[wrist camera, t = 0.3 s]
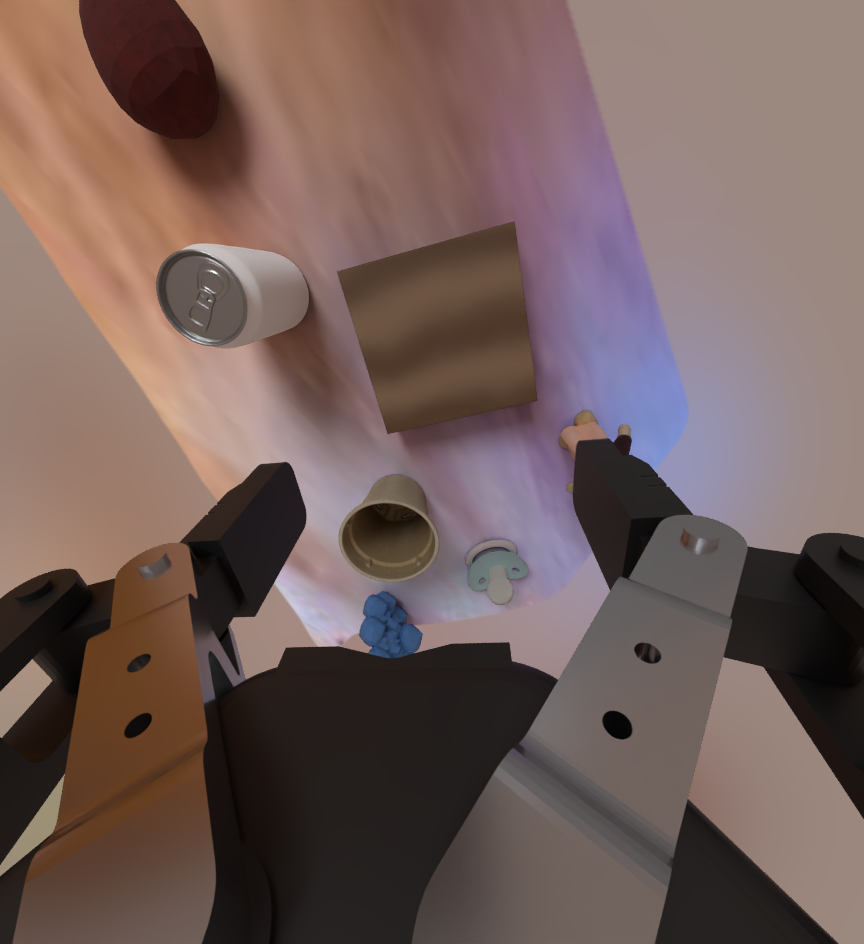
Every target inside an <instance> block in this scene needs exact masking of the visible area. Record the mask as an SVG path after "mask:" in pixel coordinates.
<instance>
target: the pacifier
mask: <svg viewBox="0 0 864 944" xmlns="http://www.w3.org/2000/svg"><path fill="white" fill-rule="evenodd" d="M491 547H503V548H506V549H508V550H509V551H510V552H506V551H494V552H490V553H487V554H485V555H483V556H481V557H479V558H478V559H477V560H476V561H475V562H473V558H474V557H475V556H476V555H477V554H478V553H479V552H481V551H482V550H485V549H487V548H491ZM516 552H517V549H516V546H515V545H514V544H513V543H511V542H510V541H507V540H500V539H497V540H490V541H486V542H483V543H480V544H478V545H476V546H475V547H473V548H472V549H471V550H470V551H469V552H468V553H467V555H466V557H465V563H466V565H467V566H468V567H469V568H470V569H469V571H468V585H469V587H470V588H471V589H472V590H474V591H482V590H485V589H487V595H488V597H489V599H490V600H491V601H492V602H493V603H495V604H497V605H504V604H506V603H508V602H509V601H510V600H511V598H512V596H513V586H512V583H511V582H510V581H509V580H508V579H520V578H523V577H525V576H526V575H527V574H528V567H527V565H526V563H525V562H524V561H523V560H522V559H521V558H520V557H519V556H517V555H516ZM514 567H515V568H518V569H519V571H513V570H512V568H514ZM481 578H485V581H484V582H483V583H480V582H479V580H480V579H481Z"/></svg>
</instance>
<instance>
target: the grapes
mask: <svg viewBox="0 0 864 944" xmlns="http://www.w3.org/2000/svg"><path fill="white" fill-rule="evenodd" d="M363 614H364V615H365V616H366V618H365V619H364V621H363V623H362V625H361V628H360V633H359V636H360V637H361V639H362V640H363V641H364V643H366V644H367V645H368V646H372V649H371V650H370V651H369V653H368V654H372V655H377V656H381V657H385V658H398V657H402V656H406V655H410V654H413V653H414V652H416V651H417V650H418V649H419V646H420V644H421V640H422V635H423V634H422V633H421V632H420V631H419V630H418V629H417V628H416V627H415V626H414V625H412V624H405V623H406V619H407V613H406V612H405V611H404V610H403V609H402V608H400V607H399V606H396V600H395V599H394V597H393V596H391V595H390V594H389V593H387V592H384V591H382V592H380V593H378V595H371V596H369V597H368V599H367V600H366V602H365V605H364V609H363Z"/></svg>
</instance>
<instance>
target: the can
mask: <svg viewBox="0 0 864 944" xmlns="http://www.w3.org/2000/svg"><path fill="white" fill-rule="evenodd" d="M156 290H157V296H158V300H159V303H160V306H161V308H162V311H163V313H164V314H165V316H166V318H167V319H168V321H169V322H170V323H171V324H172V326H173V327H174V328H175V329H176V330H177V331H178V332H180V333H181V334H182V335H183V336H185V337H186V338H188V339H190V340H191V341H193V342H196V343H198V344H202V345H206V346H213V347H217V348H235V347H239V346H243V345H246V344H249V343H252V342H255V341H258V340H261V339H264V338H267V337H269V336H272V335H275V334H278V333H281V332H284V331H286V330H289V329H291V328H293V327H295V326H296V325H297V324H299V323H300V322H301V321H302V319H303V318H304V316H305V314H306V312H307V309H308V304H309V292H308V287H307V284H306V281H305V279H304V277H303V275H302V273H301V272H300V270H299V269H298V268H297V266H296V265H295V264H294V263H292V262H291V261H290V260H288V259H287V258H285V257H283V256H281V255H279V254H276V253H273V252H268V251H261V250H254V249H247V248H240V247H233V246H225V245H217V244H194V245H190V246H188V247H185V248H184V249H182V250H180V251H177V252H175V253H173V254H171V255H170V256H169V257H168V258H167V259H166V260H165V261H164V262H163V263H162V265H161V267H160V269H159V272H158V275H157V281H156Z"/></svg>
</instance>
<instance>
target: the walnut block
mask: <svg viewBox="0 0 864 944" xmlns="http://www.w3.org/2000/svg"><path fill="white" fill-rule="evenodd" d="M337 273H338V276H339V280H340V283H341V286H342V289H343V292H344V296H345V299H346V302H347V305H348V308H349V312H350V315H351V318H352V321H353V324H354V328H355V331H356V334H357V337H358V340H359V344H360V347H361V350H362V353H363V356H364V360H365V363H366V366H367V369H368V372H369V375H370V379H371V382H372V385H373V388H374V391H375V395H376V398H377V401H378V404H379V407H380V411H381V414H382V417H383V420H384V423H385V427H386V430H387V433H388V434H390V433H395V432H399V431H404V430H408V429H413V428H417V427H422V426H426V425H430V424H435V423H439V422H444V421H448V420H453V419H457V418H462V417H466V416H471V415H475V414H480V413H484V412H489V411H493V410H498V409H502V408H507V407H511V406H516V405H520V404H525V403H529V402H533V401H538V399H537V392H536V384H535V376H534V369H533V361H532V353H531V345H530V338H529V330H528V322H527V314H526V307H525V299H524V291H523V283H522V276H521V268H520V260H519V252H518V245H517V237H516V229H515V221H514V222H510V223H507V224H503V225H500V226H496V227H493V228H489V229H486V230H482V231H479V232H475V233H472V234H468V235H464V236H461V237H457V238H454V239H450V240H447V241H443V242H440V243H436V244H433V245H429V246H426V247H422V248H419V249H415V250H412V251H408V252H405V253H401V254H398V255H394V256H390V257H387V258H383V259H380V260H376V261H373V262H369V263H366V264H362V265H359V266H355V267H352V268H348V269H345V270H341V271H338V272H337Z"/></svg>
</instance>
